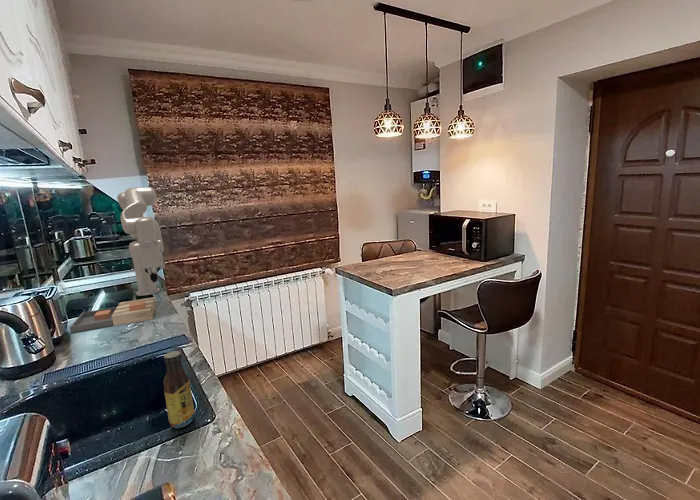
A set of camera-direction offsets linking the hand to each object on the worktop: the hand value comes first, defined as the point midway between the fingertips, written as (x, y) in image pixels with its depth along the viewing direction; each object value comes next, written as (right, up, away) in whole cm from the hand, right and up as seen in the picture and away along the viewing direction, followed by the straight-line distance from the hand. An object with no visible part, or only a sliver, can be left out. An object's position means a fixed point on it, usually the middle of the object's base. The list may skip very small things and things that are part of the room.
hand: (154, 281), depth 175 cm
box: (-26, -19, -2) cm, 33 cm away
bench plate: (-11, -17, +4) cm, 21 cm away
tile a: (-27, -15, +2) cm, 31 cm away
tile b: (-8, -13, 0) cm, 15 cm away
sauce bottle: (+49, -31, -77) cm, 97 cm away
